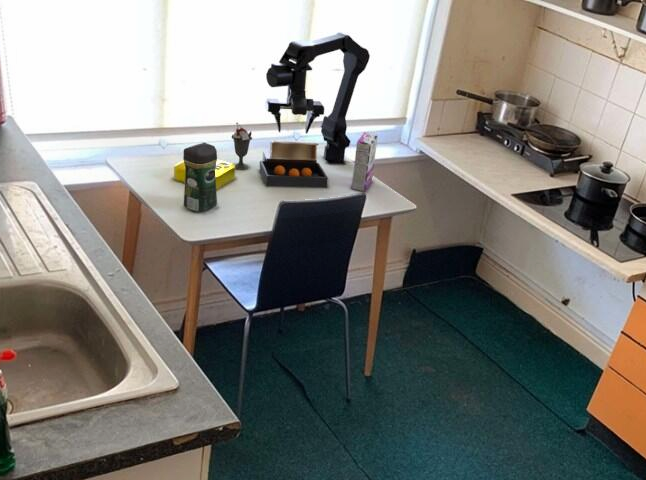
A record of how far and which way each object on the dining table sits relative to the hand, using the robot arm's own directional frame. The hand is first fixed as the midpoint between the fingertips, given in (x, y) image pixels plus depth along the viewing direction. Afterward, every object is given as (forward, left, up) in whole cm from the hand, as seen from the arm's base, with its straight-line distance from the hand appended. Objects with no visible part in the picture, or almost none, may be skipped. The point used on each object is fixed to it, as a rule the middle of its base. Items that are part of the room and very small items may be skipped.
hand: (292, 132), depth 255 cm
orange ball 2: (+1, +11, -10) cm, 15 cm away
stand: (+1, +3, -13) cm, 13 cm away
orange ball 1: (+5, +8, -10) cm, 14 cm away
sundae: (+17, 0, -13) cm, 21 cm away
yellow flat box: (+30, +11, -13) cm, 34 cm away
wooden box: (+1, +5, -4) cm, 7 cm away
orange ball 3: (-3, +10, -10) cm, 14 cm away
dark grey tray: (+1, +9, -13) cm, 16 cm away
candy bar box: (-22, +13, -13) cm, 29 cm away
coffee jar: (+34, +33, -13) cm, 49 cm away
